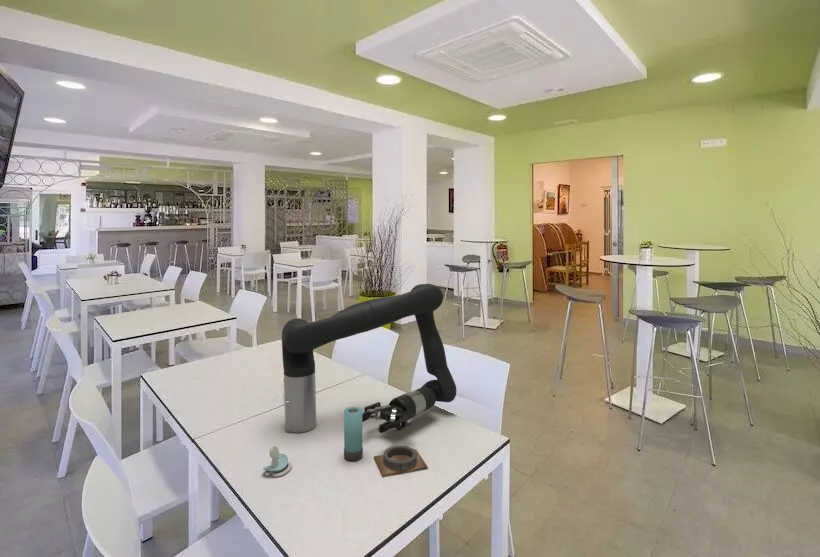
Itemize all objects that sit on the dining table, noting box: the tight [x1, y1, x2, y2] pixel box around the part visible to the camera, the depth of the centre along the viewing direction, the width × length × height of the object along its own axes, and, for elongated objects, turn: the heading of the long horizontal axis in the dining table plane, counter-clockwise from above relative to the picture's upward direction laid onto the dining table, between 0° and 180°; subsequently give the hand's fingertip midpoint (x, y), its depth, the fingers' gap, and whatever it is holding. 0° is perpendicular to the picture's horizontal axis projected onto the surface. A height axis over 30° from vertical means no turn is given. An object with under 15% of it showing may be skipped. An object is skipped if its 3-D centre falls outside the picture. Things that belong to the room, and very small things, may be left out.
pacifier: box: [262, 445, 293, 478], centre depth 110 cm, size 7×6×6 cm
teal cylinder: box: [343, 406, 364, 463], centre depth 116 cm, size 5×5×13 cm
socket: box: [373, 444, 429, 478], centre depth 114 cm, size 12×9×3 cm
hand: (368, 424), depth 120 cm, fingers open, 8 cm apart
